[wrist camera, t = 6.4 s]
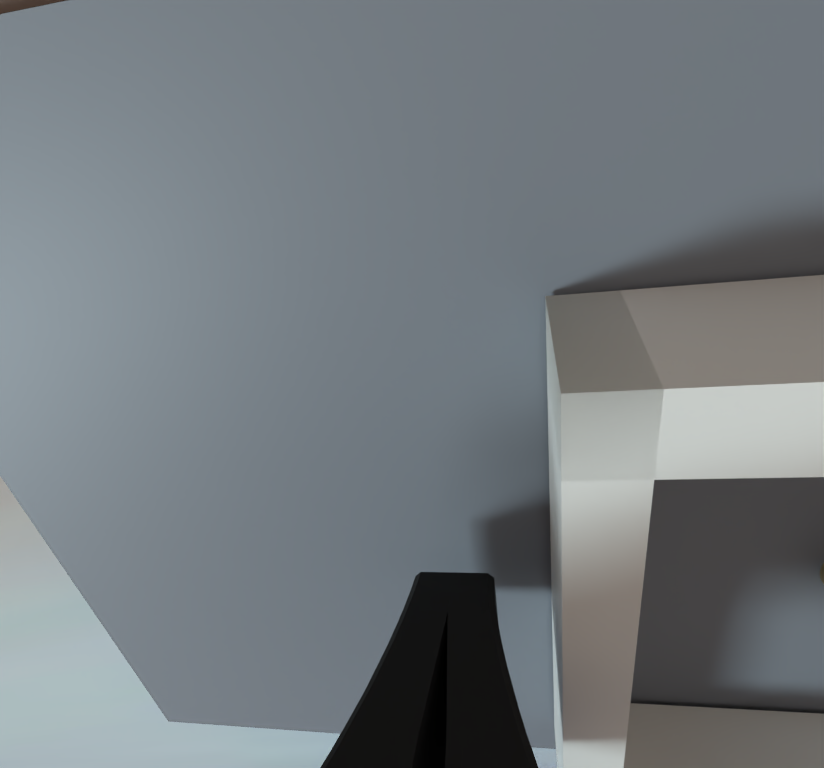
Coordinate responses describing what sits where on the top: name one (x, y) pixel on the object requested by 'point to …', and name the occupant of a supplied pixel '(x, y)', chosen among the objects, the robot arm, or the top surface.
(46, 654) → the top surface
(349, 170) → the board
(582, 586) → the white u-shaped piece
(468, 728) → the robot arm
